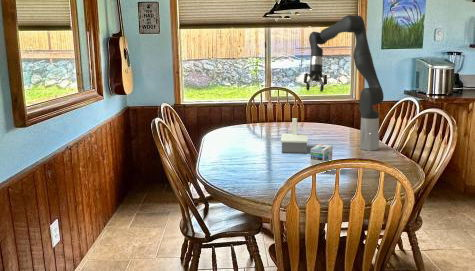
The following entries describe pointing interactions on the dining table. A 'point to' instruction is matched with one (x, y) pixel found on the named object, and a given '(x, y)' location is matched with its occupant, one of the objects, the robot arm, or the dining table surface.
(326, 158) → the light bulb box
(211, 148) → the dining table surface
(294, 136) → the lid
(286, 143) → the tub
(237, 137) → the dining table surface
